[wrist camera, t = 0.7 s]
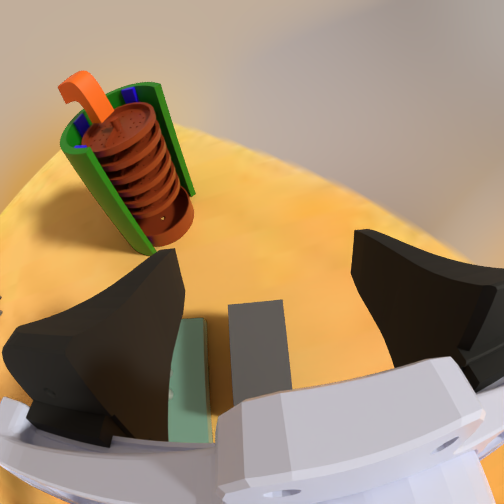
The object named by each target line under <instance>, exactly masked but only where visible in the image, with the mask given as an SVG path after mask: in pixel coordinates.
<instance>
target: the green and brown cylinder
mask: <svg viewBox="0 0 504 504" xmlns="http://www.w3.org/2000/svg"><path fill="white" fill-rule="evenodd" d="M58 89H59V91H60V93H61V95H62V97H63V99H64V101H65V103H66V104H67V103H70V102H72V101H77V102H79V103H80V104H81V105H82V107H83V108H84V109H83V110H81V111H80V112H79V113H78V114H77V115H76V116H75V117H74V118H73V119H72V120H71V121H70V123H69V124H68V125H67V127H66V128H65V130H64V132H63V133H62V136H61V139H60V147H61V149H62V151H63V152H64V154H65V155H66V157H67V158H68V160H69V161H70V163H71V164H72V166H73V167H74V169H75V170H76V172H77V173H78V175H79V176H80V178H81V179H82V181H83V182H84V184H85V185H86V187H87V188H88V189H89V191H90V192H91V194H92V195H93V196H94V198H95V199H96V201H97V202H98V203H99V205H100V206H101V207H102V209H103V210H104V211H105V213H106V214H107V215H108V217H109V218H110V219H111V221H112V222H113V223H114V225H115V226H116V227H117V229H118V230H119V231H120V232H121V234H122V235H123V236H124V238H125V239H126V240H127V241H128V243H129V244H130V245H131V246H132V247H133V248H134V249H135V250H136V251H137V252H139V253H141V254H144V255H148V256H152V255H153V254H154V253H156V250H155V248H154V247H153V246H165V245H168V244H171V243H173V242H175V241H177V240H178V239H180V238H181V237H182V236H183V235H184V234H185V233H186V232H187V231H188V229H189V228H190V226H191V224H192V222H193V218H194V209H193V206H192V203H191V201H190V198H189V196H188V195H190V196H191V197H192V196H193V195H195V194H196V193H195V190H194V187H193V184H192V181H191V178H190V175H189V172H188V169H187V166H186V163H185V160H184V157H183V154H182V151H181V148H180V145H179V142H178V139H177V136H176V133H175V129H174V126H173V123H172V120H171V117H170V113H169V110H168V107H167V104H166V101H165V97H164V94H163V91H162V87H161V84H159V83H155V82H142V83H136V84H131V85H127V86H124V87H121V88H118V89H116V90H114V91H111V92H109V93H107V94H105V93H104V92H103V90H102V88H101V87H100V85H99V84H98V82H97V81H96V80H95V78H94V77H93V76H92V75H91V74H90V73H88V72H87V71H79V72H77V73H75V74H73V75H71V76H70V77H69V78H67V79H66V80H65V81H64V82H63V83H62V84H60V85H59V86H58ZM162 217H165V219H164V220H161V218H162Z"/></svg>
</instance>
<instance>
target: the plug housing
mask: <svg viewBox="0 0 504 504" xmlns="http://www.w3.org/2000/svg"><path fill="white" fill-rule="evenodd" d="M228 316H229V336H230V355H231V372H232V388H233V402H234V406H236V405H238V404H239V403H241V402H242V401H244V400H245V399H249V398H254V397H258V396H262V395H266V394H270V393H274V392H278V391H285V390H292V382H291V372H290V363H289V353H288V344H287V335H286V326H285V317H284V309H283V300H273V301H264V302H253V303H243V304H231V305H228Z"/></svg>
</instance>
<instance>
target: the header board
mask: <svg viewBox="0 0 504 504" xmlns="http://www.w3.org/2000/svg"><path fill="white" fill-rule="evenodd" d="M168 438H169V442H181V443H213V437H212V424H211V409H210V392H209V371H208V345H207V322H206V321H205V319H204V318H191V319H181V323H180V327H179V331H178V335H177V340H176V344H175V348H174V352H173V357H172V363H171V372H170V383H169V401H168Z"/></svg>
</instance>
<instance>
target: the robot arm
mask: <svg viewBox="0 0 504 504" xmlns="http://www.w3.org/2000/svg"><path fill="white" fill-rule="evenodd" d="M351 275H352V278H353V281H354V283H355V286H356V288H357V290H358V293H359V294H360V296H361V298H362V300H363V301H364V303H365V305H366V307H367V308H368V310H369V312H370V314H371V315H372V317H373V319H374V321H375V322H376V324H377V326H378V328H379V329H380V331H381V333H382V336H383V338H384V340H385V342H386V345H387V348H388V350H389V353H390V356H391V358H392V361H393V364H394V369H390V370H387V371H383V372H379V373H375V374H371V375H367V376H363V377H358V378H354V379H349V380H344V381H340V382H334V383H329V384H324V385H318V386H312V387H306V388H299V389H292V390H285V391H278V392H274V393H270V394H266V395H262V396H258V397H254V398H249V399H245V400H244V401H242V402H241V403H239V404H238V405H236V406H234V407H233V408H231V409H229V410H228V411H226V412H225V413H223V414H222V415H220V416H218V421H217V426H216V436H215V443H181V442H169V438H168V401H169V383H170V372H171V363H172V357H173V352H174V348H175V344H176V340H177V335H178V331H179V327H180V323H181V319H182V315H183V310H184V300H185V288H184V284H183V280H182V276H181V272H180V268H179V264H178V260H177V255H176V251H175V248H173V249H164V250H159V251H158V252H156V253H154V254H153V255H152V256H150V257H149V258H148V259H146V260H145V261H144V262H142V263H141V264H140V265H138V266H137V267H136V268H135V269H133V270H132V271H131V272H129V273H128V274H127V275H125V276H124V277H123V278H121V279H120V280H118V281H117V282H116V283H114V284H113V285H111V286H110V287H108V288H107V289H105V290H104V291H102V292H100V293H99V294H97V295H95V296H94V297H92V298H90V299H88V300H86V301H84V302H82V303H80V304H78V305H76V306H74V307H72V308H70V309H68V310H66V311H63V312H61V313H58V314H56V315H53V316H51V317H48V318H45V319H42V320H39V321H35V322H32V323H28V324H25V325H21V326H18V327H17V328H16V329H15V331H14V332H13V334H12V335H11V336H10V338H9V339H8V341H7V342H6V344H5V345H4V347H3V350H2V355H3V360H4V363H5V365H6V367H7V369H8V370H9V372H10V373H11V375H12V376H13V377H14V378H15V380H16V381H17V382H18V383H19V385H20V386H21V387H22V388H23V389H24V390H25V392H26V393H27V394H28V395H29V396H30V397H31V398H32V400H33V402H32V405H31V407H29V406H28V405H26V404H25V403H22V402H20V401H17V400H14V399H11V398H8V397H3V398H2V401H1V403H0V466H2V467H3V468H5V469H6V470H7V471H9V472H10V473H12V474H13V475H15V476H16V477H18V478H19V479H21V480H23V481H24V482H26V483H28V484H29V485H31V486H33V487H35V488H37V489H39V490H41V491H43V492H46V493H48V494H50V495H52V496H54V497H56V498H59V499H61V500H63V501H66V502H68V503H71V504H496V503H495V500H494V497H493V494H492V491H491V489H490V486H489V483H488V481H487V478H486V476H485V473H484V471H483V468H482V466H481V463H480V461H481V460H482V459H484V458H485V457H486V456H488V455H489V454H491V453H492V452H493V451H495V450H496V449H497V448H499V447H500V446H501V445H503V444H504V269H502V268H491V267H484V266H478V265H472V264H467V263H463V262H459V261H455V260H451V259H447V258H444V257H441V256H438V255H434V254H432V253H429V252H426V251H424V250H421V249H418V248H416V247H413V246H411V245H408V244H406V243H404V242H401V241H399V240H397V239H394V238H392V237H390V236H387V235H385V234H382V233H380V232H377V231H374V230H370V229H363V230H354V244H353V255H352V266H351Z"/></svg>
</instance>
